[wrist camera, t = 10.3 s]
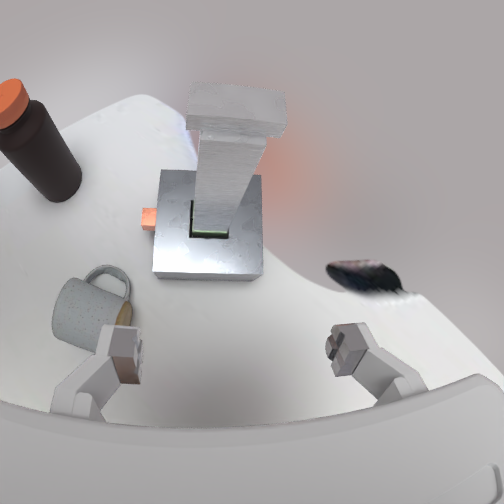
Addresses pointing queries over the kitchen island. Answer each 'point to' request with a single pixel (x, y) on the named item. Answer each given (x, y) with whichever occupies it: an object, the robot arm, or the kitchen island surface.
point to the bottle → (36, 144)
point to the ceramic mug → (89, 309)
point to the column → (229, 147)
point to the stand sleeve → (202, 249)
